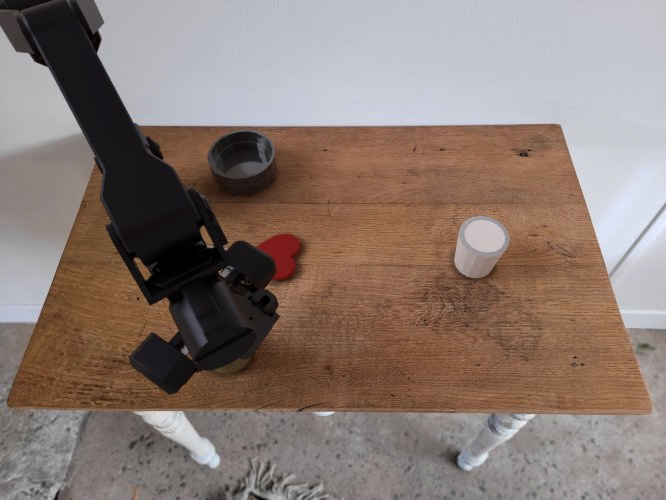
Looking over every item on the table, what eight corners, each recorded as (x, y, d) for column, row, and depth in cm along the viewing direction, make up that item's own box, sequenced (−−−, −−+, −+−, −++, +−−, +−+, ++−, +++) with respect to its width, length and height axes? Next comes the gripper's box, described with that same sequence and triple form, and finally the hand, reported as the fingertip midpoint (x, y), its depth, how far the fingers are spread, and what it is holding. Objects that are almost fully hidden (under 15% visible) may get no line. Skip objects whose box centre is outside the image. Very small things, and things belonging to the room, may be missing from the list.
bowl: (200, 179, 82) (193, 160, 78) (241, 140, 87) (236, 121, 83) (251, 206, 79) (246, 188, 75) (290, 164, 84) (288, 145, 80)
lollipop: (194, 270, 72) (292, 283, 71) (193, 267, 71) (292, 280, 70) (210, 226, 77) (303, 237, 75) (209, 223, 76) (302, 234, 74)
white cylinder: (501, 252, 73) (515, 224, 67) (489, 288, 70) (503, 263, 64) (457, 236, 75) (467, 209, 69) (443, 272, 71) (452, 245, 65)
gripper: (185, 402, 42) (223, 440, 55) (308, 250, 50) (316, 315, 64) (98, 337, 46) (154, 387, 59) (227, 205, 54) (250, 275, 67)
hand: (223, 339), depth 62 cm, fingers open, 9 cm apart
